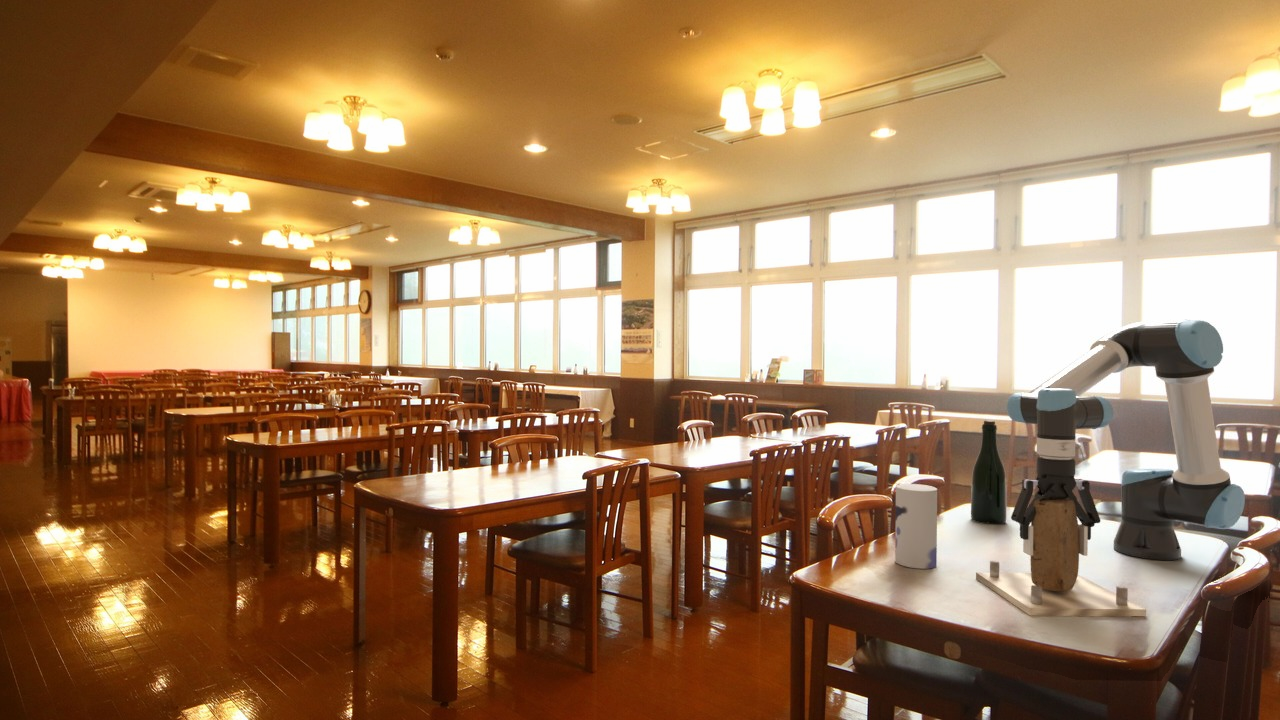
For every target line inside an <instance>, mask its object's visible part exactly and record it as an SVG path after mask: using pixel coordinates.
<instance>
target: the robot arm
mask: <svg viewBox="0 0 1280 720" xmlns="http://www.w3.org/2000/svg"><path fill="white" fill-rule="evenodd" d="M1223 353H1224V344H1223V339H1222V337H1221V335H1220V333H1219V331H1218V330H1217V329H1216V328H1215V326H1213V325H1212V324H1211V323H1210V322H1207V321H1204V320H1201V319H1200V320H1199V319H1198V320H1191V319H1176V320H1163V321H1160V320H1158V321H1139V322H1134V323H1130V324H1127V325H1124V326H1122V327H1119V328H1118V329H1115V330H1113V331H1112V332H1110V333H1108V334H1106V335H1104V336H1102V337H1101V338H1099V339H1097V341H1095V342H1094V343H1093V344H1091V346H1090V348H1089V350H1088V351H1087V352H1086V353H1085V354H1083V355H1082V356H1080V357H1078V358H1077V359H1076V360H1075V361H1073V362H1072V363H1070V364H1069V365H1067V366H1066V367H1064V368H1063V369H1062V370H1060V371H1059V372H1057V373H1056V374H1054V375H1053V376H1052V377H1050V378H1048V379H1047V380H1046V381H1044V382H1043V383H1041V384H1040V385H1038V386H1037V387H1035V388H1034V389H1033V390H1031V391H1030V392H1025V391H1024V392H1023V391H1021V392H1015V393H1013V394H1011V395H1010V396H1009V398H1008V400H1007V402H1006V412H1007V415H1008V416H1009V418H1010V419H1011V420H1012V421H1014V422H1018V423H1023V424H1026V425H1029V424H1030V425H1037V427H1036V429H1037V430H1036V454H1037V455H1038V456H1037V457H1036V474H1037V475H1036V478H1035V479H1027V478H1023V479H1022V482H1021V491H1020V493H1019V496H1018V498H1017V501H1016V504H1015V506H1014V508H1013V511H1012V513H1011V516H1010V519H1011V520H1012V521H1014V522H1016V523H1018V524H1019V537H1020V539H1022V541H1023V542H1022V543H1023V544H1022V547H1023V548H1022V551H1023V553H1025V554H1026V555H1028V556H1030V555H1033V526H1031V522H1032V520H1033V519H1034V517H1035V515H1036V507H1033V503H1034V501H1036V500H1037V499H1039V501H1043V500H1049V499H1057V498H1059V499H1065V498H1068V499H1071V500H1073V501H1074V503H1075V509H1076V516H1077V520H1079V522H1080V523H1078V531H1079V555H1081V556H1085V557H1088V541H1090V540H1091V538H1092V528H1094V527H1095V524H1099V523H1101V517H1100V515H1099V512H1098V510H1097V507H1096V505H1095V502H1094V499H1093V497H1092V494H1091V491H1090V487H1091V485H1090V481H1088V480H1085V479H1083V478H1079V479H1078V480H1076V479H1075V475H1076V460H1075V458H1074V457H1076V433H1077V430H1089V429H1090V430H1096V429H1100V428H1101V429H1102V428H1105V427H1107V426H1108V425H1109V424H1110V423H1111V422H1112V421H1113V419H1114V408H1113V406H1112V404H1111V402H1110V401H1109V400H1107V399H1106V398H1105V397H1102V396H1097V395H1096V396H1095V395H1085V396H1084V395H1083V394H1085V393H1086V392H1087V391H1089V390H1090V389H1092V388H1093V387H1094V386H1096V385H1097V384H1099V383H1100V382H1101V381H1103V380H1104V379H1105V378H1107V377H1108V376H1110V375H1111V374H1115V373H1120V372H1122V371H1124V370H1126V369H1127V368H1132V367H1154V370H1155V375H1156V377H1157V378H1158V379H1160V380H1161V381H1163V382H1164V385H1165V392H1166V400H1167V404H1168V405H1167V407H1168V411H1169V412H1168V413H1169V418H1170V423H1171V429H1172V431H1171V432H1172V437H1173V442H1174V450H1175V455H1176V462H1177V463H1176V464H1177V469H1176V470H1175V471H1174V470H1173V469H1169V468H1168V469H1167V468H1138V469H1137V468H1134V469H1127V470H1125V471H1124V472H1123V473H1122V476H1121V484H1120V488H1121V516H1120V517H1121V519H1120V524H1119V527H1118V529H1117V532H1116V533H1115V537H1114V538H1113V550H1115V551H1117V552H1119V553H1121V554H1125V555H1128V556H1132V557H1136V558H1142V559H1147V560H1148V559H1149V560H1158V561H1176V560H1180V559H1182V548H1181V545H1180V542H1179V539H1178V537H1177V534H1176V531H1175V530H1174V529H1175V528H1174V521H1176V522H1181V523H1186V524H1191V525H1197V526H1201V527H1205V528H1207V529H1211V528H1212V529H1220V530H1227V529H1230V528H1232V527H1234V526H1235V525H1236V524H1237V523H1238V522H1239V520H1240V518H1241V516H1242V513H1243V511H1244V509H1245V501H1246V497H1245V496H1246V495H1245V491H1244V489H1243V488H1242V486H1240V485H1237V484H1235V483H1232V482H1231V476H1230V473H1229V472H1228V471H1226V470H1225V469H1223V468H1222V466H1221V461H1220V454H1219V446H1218V440H1217V434H1216V427H1215V420H1214V415H1213V414H1214V413H1213V406H1212V400H1211V395H1210V394H1211V393H1210V386H1209V377H1210V376H1211V375H1213V373H1214V372H1215V367H1217V366H1218V365H1219V364H1220V363H1221V361H1222V359H1223V355H1222V354H1223ZM1082 395H1083V396H1082ZM1036 487H1037V489H1038V490H1037V491H1036V493H1035V494H1034V497H1033V499H1032V500H1031V498H1032V496H1033V493H1034V490H1035V489H1036ZM1075 488H1076V490H1077V492H1078V494H1079V497H1080V500H1081V503H1082V505H1083V507H1082V506H1081V504H1080V502H1079V501H1078V499H1077V497H1076V496H1077V495H1075V494H1074V492H1073V491H1074V489H1075ZM1030 501H1031V502H1030Z"/></svg>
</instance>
